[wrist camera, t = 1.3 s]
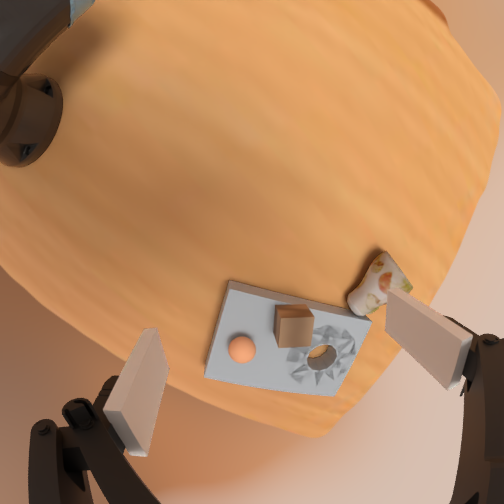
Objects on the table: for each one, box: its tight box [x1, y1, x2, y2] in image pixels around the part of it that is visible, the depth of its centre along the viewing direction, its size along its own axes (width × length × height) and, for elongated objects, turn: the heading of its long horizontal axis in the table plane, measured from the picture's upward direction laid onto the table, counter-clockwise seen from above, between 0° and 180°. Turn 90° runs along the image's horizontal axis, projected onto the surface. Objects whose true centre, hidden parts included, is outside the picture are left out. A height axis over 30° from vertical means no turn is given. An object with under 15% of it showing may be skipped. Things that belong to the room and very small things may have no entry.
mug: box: [347, 251, 413, 316], centre depth 37 cm, size 8×10×10 cm
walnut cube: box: [273, 304, 315, 348], centre depth 34 cm, size 4×4×4 cm
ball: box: [228, 336, 256, 363], centre depth 34 cm, size 4×4×4 cm
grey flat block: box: [204, 280, 372, 396], centre depth 38 cm, size 21×14×4 cm, turn 73°
